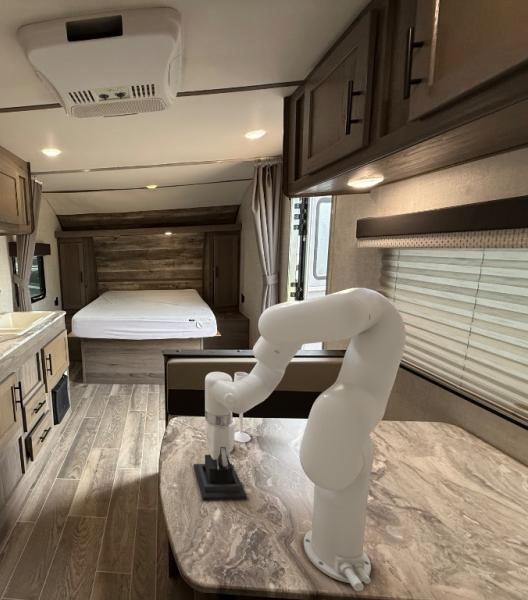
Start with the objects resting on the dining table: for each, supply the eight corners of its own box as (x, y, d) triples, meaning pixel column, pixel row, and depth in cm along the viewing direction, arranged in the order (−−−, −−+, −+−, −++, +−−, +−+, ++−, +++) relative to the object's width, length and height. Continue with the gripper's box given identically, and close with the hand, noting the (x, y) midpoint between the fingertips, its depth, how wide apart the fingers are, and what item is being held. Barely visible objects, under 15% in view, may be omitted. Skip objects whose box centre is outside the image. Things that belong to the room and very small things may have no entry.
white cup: (210, 452, 111) (210, 424, 110) (212, 439, 119) (212, 413, 117) (235, 455, 109) (235, 428, 107) (235, 442, 116) (235, 416, 115)
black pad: (232, 481, 93) (232, 468, 93) (209, 481, 94) (209, 468, 93) (226, 466, 100) (226, 454, 99) (204, 466, 100) (204, 454, 99)
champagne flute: (245, 431, 123) (246, 370, 119) (253, 441, 116) (255, 377, 113) (228, 432, 122) (228, 371, 119) (235, 442, 116) (236, 378, 112)
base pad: (246, 499, 90) (246, 491, 90) (202, 500, 90) (202, 492, 90) (231, 466, 104) (231, 458, 103) (193, 466, 104) (193, 459, 104)
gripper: (199, 401, 102) (199, 454, 105) (212, 432, 85) (212, 493, 88) (223, 401, 102) (223, 453, 105) (241, 431, 85) (240, 493, 88)
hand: (218, 471), depth 97 cm, fingers closed on black pad, 6 cm apart
